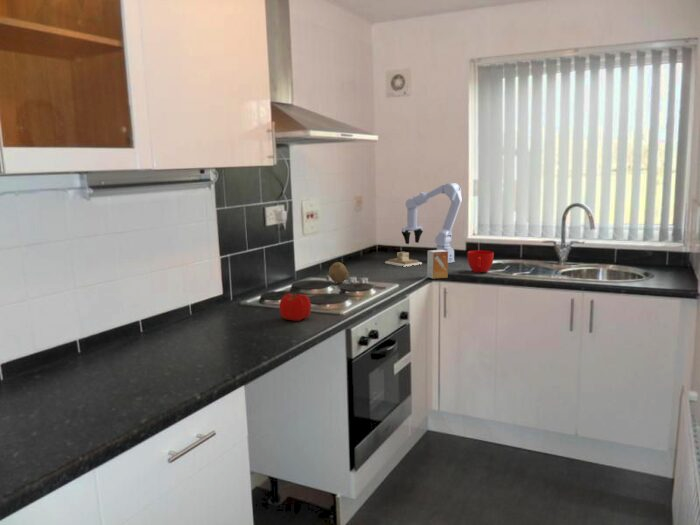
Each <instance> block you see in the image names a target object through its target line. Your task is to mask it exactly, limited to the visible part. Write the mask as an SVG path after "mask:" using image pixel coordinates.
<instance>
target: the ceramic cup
mask: <svg viewBox="0 0 700 525" xmlns="http://www.w3.org/2000/svg"><path fill="white" fill-rule="evenodd" d="M494 255H495V253H494V251H491V250H479V249H478V250H469V251H467V263H468V265H469V268H470V269H471V270H472V272H474V273H476V272H478V273H479V274H482V273H481V272H486V273H487V272H488V271H489V270H490V269H491V267H492V265H493V262H494ZM478 273H477V274H478Z"/></svg>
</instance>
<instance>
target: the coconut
mask: <svg viewBox="0 0 700 525" xmlns="http://www.w3.org/2000/svg"><path fill="white" fill-rule="evenodd" d="M328 276H329V278H331V280H332V281H333V282H334V283H336V282H337V283H336V284H338V283H339V284H341V283H340V282H342V283H343V282H344V281H346V280H347V279H349V277H350V276H349V271H348V270H347V267H346V266H345V265H344V264H343V263H342V262H340V261H337V262H334V263H332V264H331V265H330V266H329V269H328Z"/></svg>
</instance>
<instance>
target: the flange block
mask: <svg viewBox="0 0 700 525" xmlns="http://www.w3.org/2000/svg"><path fill="white" fill-rule="evenodd" d="M409 257H410V253H409V252H408V251H407V252H406V251H399V252H397V255H396V258H397V259H394V258H392V259H393V260H398V261H404V262H408V261H413V260H409V259H410V258H409Z"/></svg>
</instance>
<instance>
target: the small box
mask: <svg viewBox="0 0 700 525" xmlns="http://www.w3.org/2000/svg"><path fill="white" fill-rule="evenodd" d="M426 265H427V267H426V268H427V269H426V270H427V271H426V272H427V273H426V274H427V275H426V276H427V278H430V279H432V280H435V279H448V274H449V272H448V270H449V263H448V251H445V250H437V249H433V250H432V249H431V250H427V264H426Z"/></svg>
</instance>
